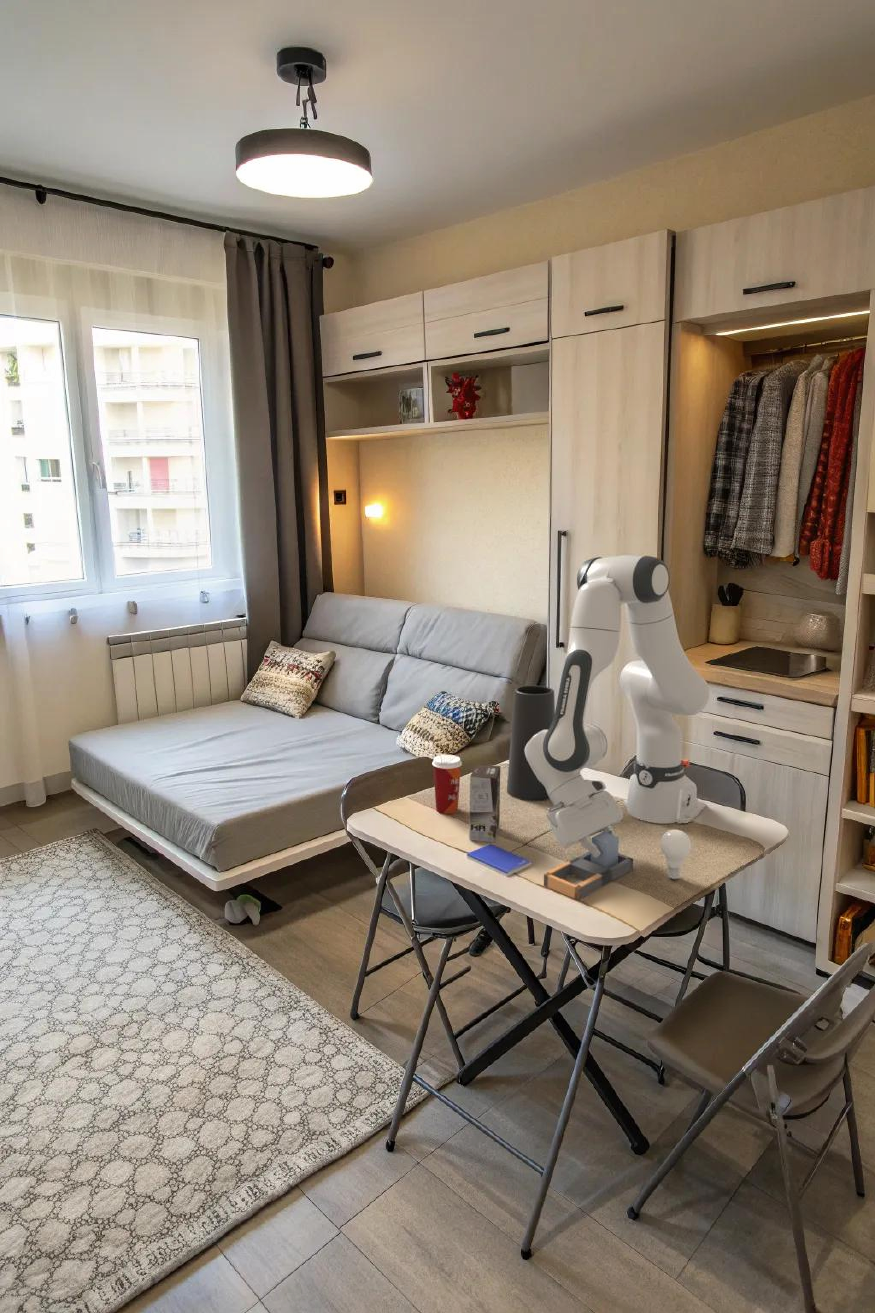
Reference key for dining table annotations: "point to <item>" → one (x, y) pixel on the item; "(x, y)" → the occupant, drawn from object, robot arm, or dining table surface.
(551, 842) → the dining table surface
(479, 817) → the coffee box
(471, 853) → the hard drive
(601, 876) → the grey orange rectangular frame
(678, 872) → the lightbulb
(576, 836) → the robot arm
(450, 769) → the paper cup
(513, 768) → the vase
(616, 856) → the plug
